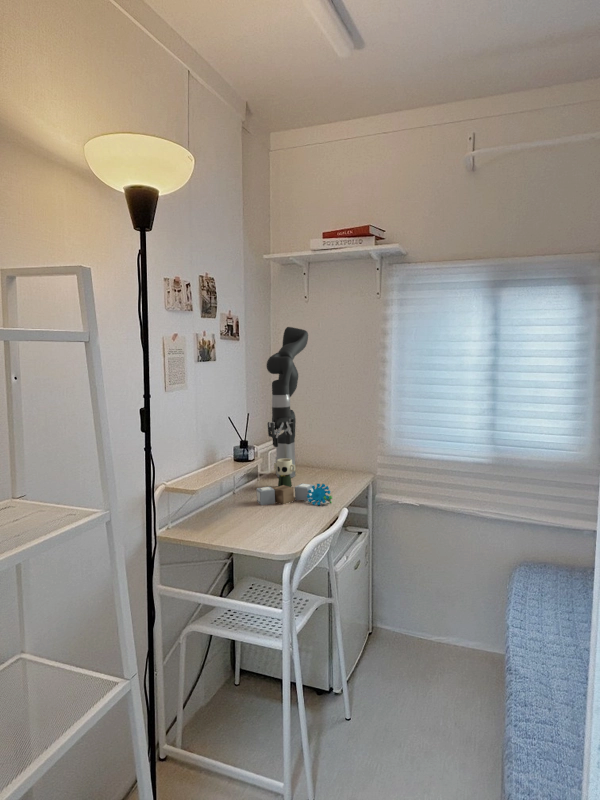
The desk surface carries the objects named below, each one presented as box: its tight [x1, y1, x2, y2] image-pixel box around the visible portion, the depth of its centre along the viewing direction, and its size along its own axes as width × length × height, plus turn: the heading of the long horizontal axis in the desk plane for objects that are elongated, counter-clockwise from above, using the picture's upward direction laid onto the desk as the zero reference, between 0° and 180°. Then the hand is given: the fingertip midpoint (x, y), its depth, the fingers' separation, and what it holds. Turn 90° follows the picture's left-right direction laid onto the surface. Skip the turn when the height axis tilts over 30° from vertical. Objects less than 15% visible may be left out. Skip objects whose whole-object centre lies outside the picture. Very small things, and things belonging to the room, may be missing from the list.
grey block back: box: [294, 483, 315, 502], centre depth 225 cm, size 6×6×6 cm
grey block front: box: [256, 486, 276, 506], centre depth 222 cm, size 6×6×6 cm
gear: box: [307, 483, 333, 506], centre depth 220 cm, size 11×6×10 cm
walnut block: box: [272, 485, 295, 505], centre depth 222 cm, size 6×6×6 cm
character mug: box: [273, 458, 296, 487], centre depth 243 cm, size 11×7×13 cm, turn 63°
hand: (282, 445), depth 220 cm, fingers open, 7 cm apart
